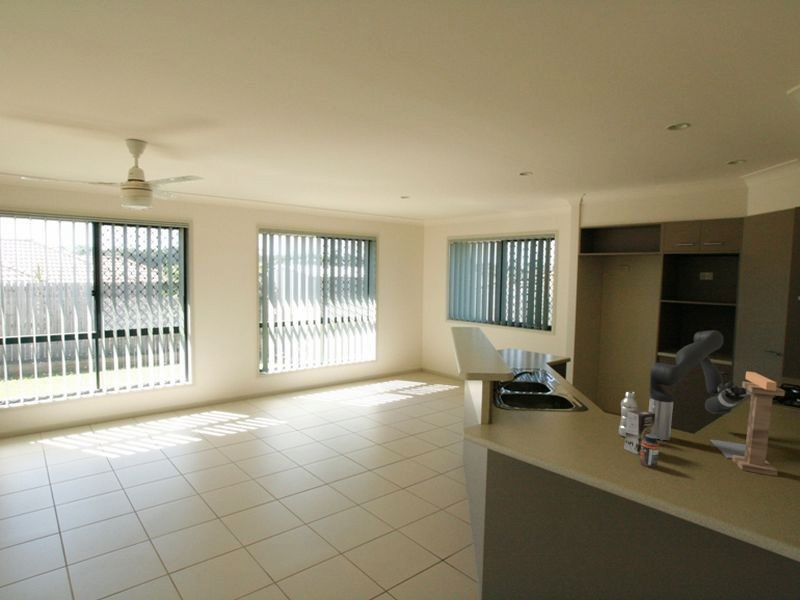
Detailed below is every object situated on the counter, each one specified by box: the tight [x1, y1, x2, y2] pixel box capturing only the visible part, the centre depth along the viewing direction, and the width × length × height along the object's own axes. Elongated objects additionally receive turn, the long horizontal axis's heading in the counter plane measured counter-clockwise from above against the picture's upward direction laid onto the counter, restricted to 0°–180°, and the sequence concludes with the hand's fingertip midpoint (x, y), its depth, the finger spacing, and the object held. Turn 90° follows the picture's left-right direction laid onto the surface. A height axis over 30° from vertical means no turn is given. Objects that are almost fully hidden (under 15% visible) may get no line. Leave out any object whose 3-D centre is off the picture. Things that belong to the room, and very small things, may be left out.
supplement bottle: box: [639, 434, 660, 469], centre depth 175 cm, size 6×6×11 cm
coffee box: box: [623, 409, 655, 455], centre depth 189 cm, size 9×6×16 cm
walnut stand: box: [731, 381, 786, 477], centre depth 178 cm, size 11×11×32 cm
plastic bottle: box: [618, 390, 638, 438], centre depth 206 cm, size 6×7×20 cm
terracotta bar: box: [745, 371, 778, 391], centre depth 180 cm, size 20×3×3 cm, turn 161°
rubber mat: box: [710, 439, 746, 460], centre depth 195 cm, size 22×14×1 cm, turn 161°
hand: (744, 385), depth 194 cm, fingers open, 8 cm apart
